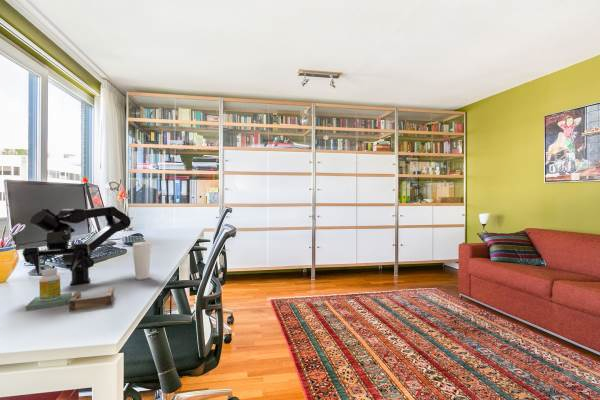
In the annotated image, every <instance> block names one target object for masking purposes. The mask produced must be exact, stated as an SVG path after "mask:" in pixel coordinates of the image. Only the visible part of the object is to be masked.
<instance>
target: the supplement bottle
mask: <svg viewBox="0 0 600 400" xmlns="http://www.w3.org/2000/svg"><path fill="white" fill-rule="evenodd" d="M57 273H58V269H57V268H45V269H42V270H41V275H42V276H41V277H40V278H39V297H40V300H41V301H51V300H55V299H58V298H60V296H61V294H62V292H61V276H60V275H59V274H57Z"/></svg>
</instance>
